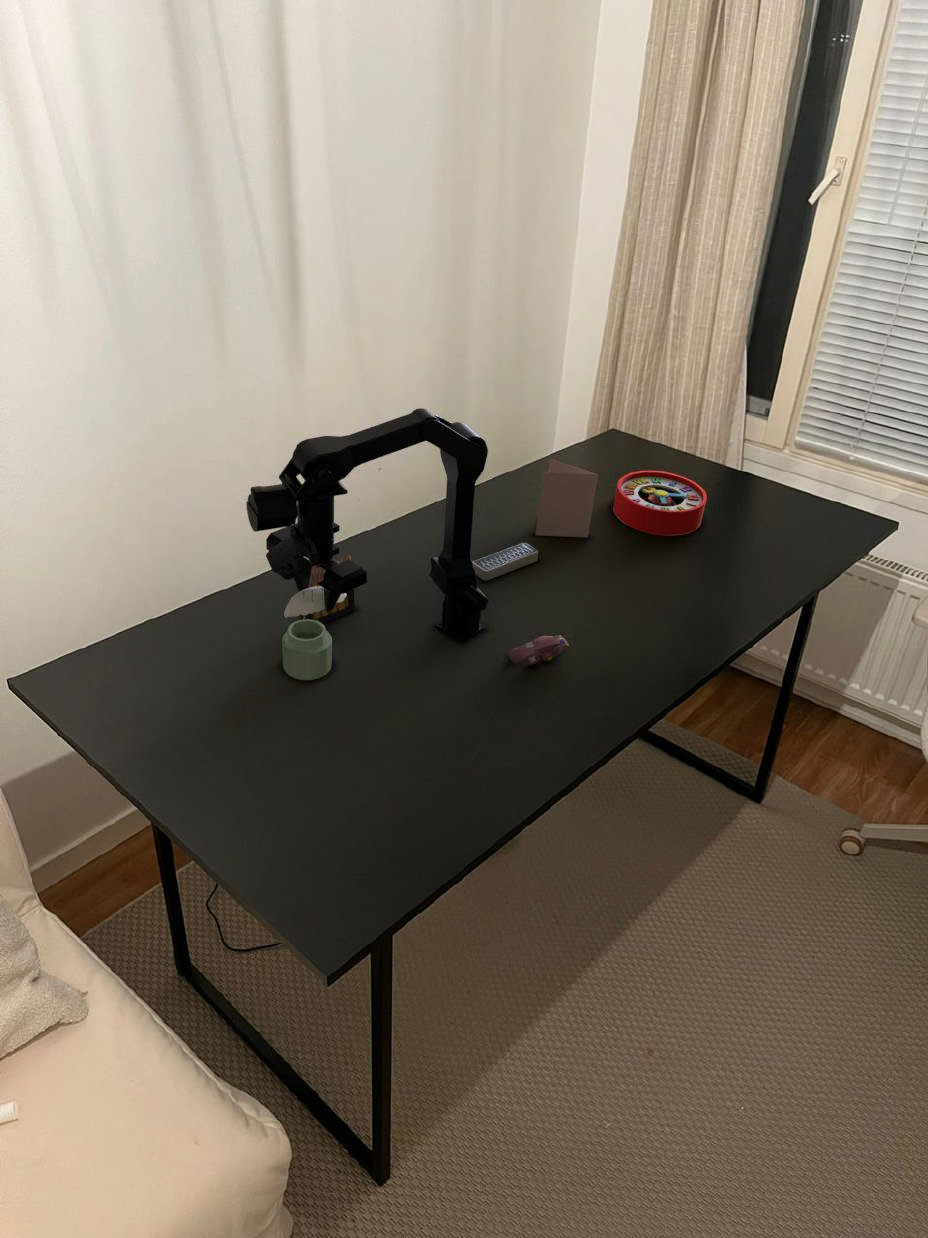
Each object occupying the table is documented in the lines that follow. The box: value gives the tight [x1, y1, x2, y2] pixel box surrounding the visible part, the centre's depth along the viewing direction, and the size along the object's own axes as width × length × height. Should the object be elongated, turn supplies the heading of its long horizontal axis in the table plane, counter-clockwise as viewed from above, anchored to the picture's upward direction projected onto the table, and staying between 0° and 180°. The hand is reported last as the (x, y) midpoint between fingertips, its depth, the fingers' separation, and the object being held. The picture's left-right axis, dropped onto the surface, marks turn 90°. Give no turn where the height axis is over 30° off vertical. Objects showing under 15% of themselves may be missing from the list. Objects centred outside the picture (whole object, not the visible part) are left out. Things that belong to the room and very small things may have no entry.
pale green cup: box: [281, 619, 333, 681], centre depth 170 cm, size 8×8×8 cm
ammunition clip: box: [300, 553, 356, 624], centre depth 181 cm, size 11×2×12 cm, turn 129°
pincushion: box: [283, 573, 347, 619], centre depth 165 cm, size 12×6×6 cm, turn 130°
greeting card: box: [535, 458, 599, 538], centre depth 212 cm, size 11×7×15 cm, turn 58°
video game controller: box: [508, 634, 570, 666], centre depth 176 cm, size 10×5×7 cm
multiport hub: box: [472, 542, 539, 582], centre depth 203 cm, size 4×14×2 cm, turn 130°
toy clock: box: [612, 470, 708, 537], centre depth 225 cm, size 20×6×20 cm
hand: (315, 602), depth 166 cm, fingers closed on pincushion, 6 cm apart
